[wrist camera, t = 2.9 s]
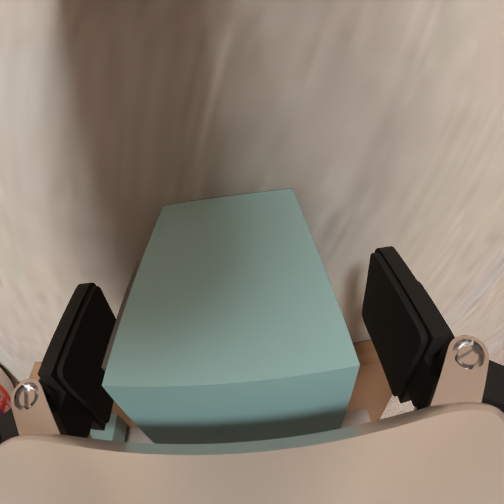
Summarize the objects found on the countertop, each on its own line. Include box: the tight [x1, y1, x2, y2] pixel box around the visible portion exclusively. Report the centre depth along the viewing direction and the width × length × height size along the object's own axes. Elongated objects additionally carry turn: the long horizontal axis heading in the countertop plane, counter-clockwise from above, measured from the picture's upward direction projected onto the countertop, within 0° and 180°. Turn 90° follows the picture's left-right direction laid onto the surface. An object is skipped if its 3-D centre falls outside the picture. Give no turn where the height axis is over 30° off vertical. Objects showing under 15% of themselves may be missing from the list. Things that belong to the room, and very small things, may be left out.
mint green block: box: [101, 189, 360, 444], centre depth 9 cm, size 5×6×7 cm
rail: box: [29, 340, 392, 444], centre depth 15 cm, size 22×12×8 cm, turn 96°
